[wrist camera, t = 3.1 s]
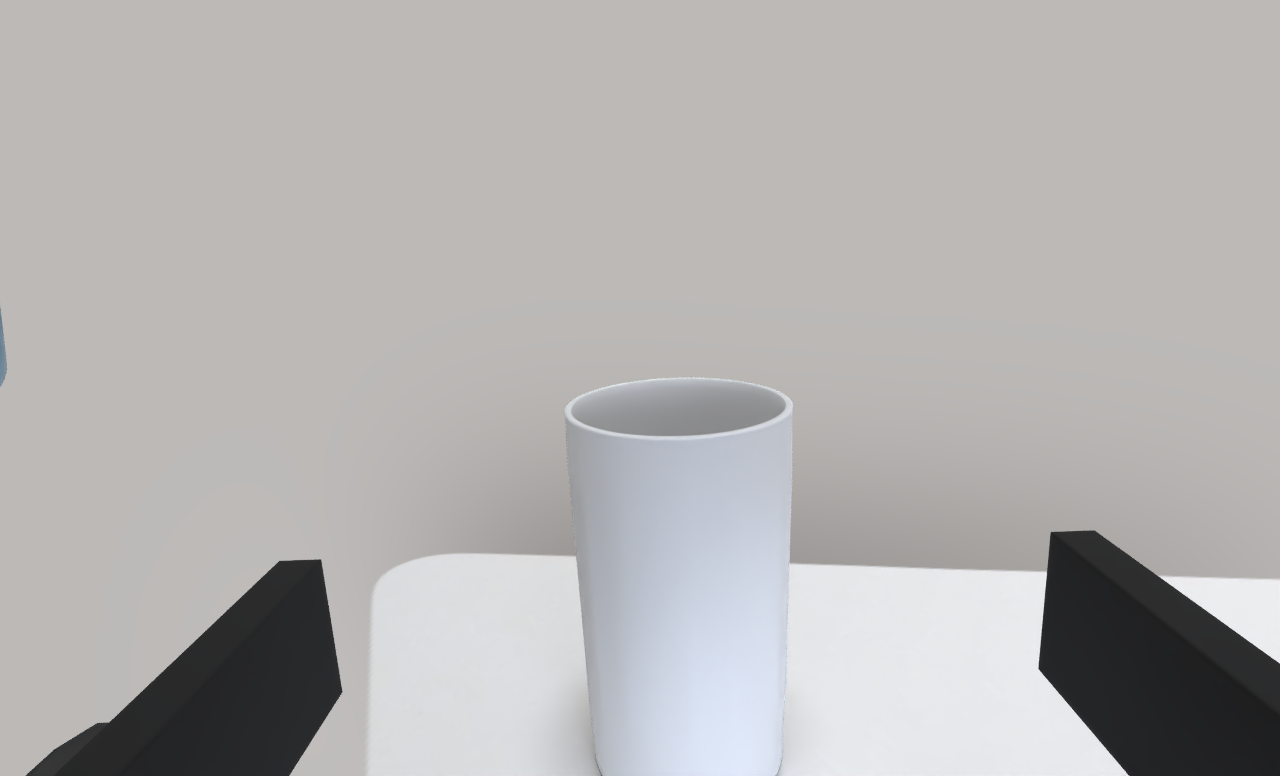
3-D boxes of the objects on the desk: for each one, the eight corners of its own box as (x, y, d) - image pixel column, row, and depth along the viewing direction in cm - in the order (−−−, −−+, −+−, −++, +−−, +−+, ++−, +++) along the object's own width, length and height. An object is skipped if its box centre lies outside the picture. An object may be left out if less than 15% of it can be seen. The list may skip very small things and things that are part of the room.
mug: (825, 808, 22) (833, 424, 19) (602, 850, 21) (575, 449, 18) (726, 627, 32) (722, 353, 29) (570, 649, 31) (549, 366, 28)
